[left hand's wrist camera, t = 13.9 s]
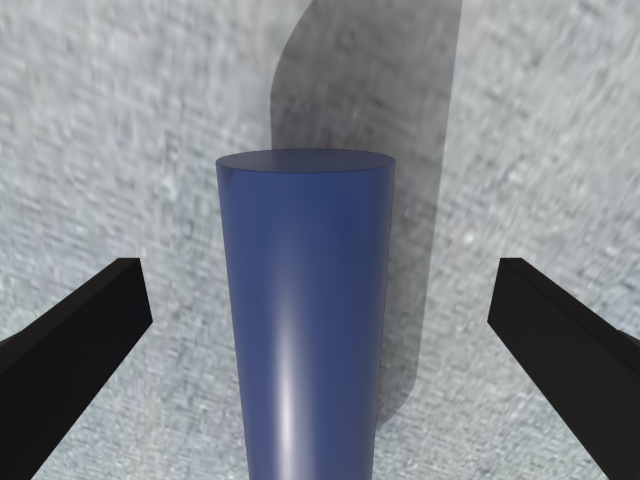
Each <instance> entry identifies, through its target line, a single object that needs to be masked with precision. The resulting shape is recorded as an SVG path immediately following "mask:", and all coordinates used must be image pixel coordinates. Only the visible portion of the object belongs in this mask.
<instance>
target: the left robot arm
mask: <svg viewBox="0 0 640 480" xmlns="http://www.w3.org/2000/svg"><path fill="white" fill-rule="evenodd" d="M152 322H153V320H152V315H151V310H150V305H149V301H148V296H147V291H146V286H145V281H144V277H143V272H142V267H141V262H140V258H118V259H116V260H115V261H114V262H112V263H111V264H110V265H108V266H107V267H106V268H104V269H103V270H102V271H100V272H99V273H98V274H96V275H95V276H94V277H92V278H91V279H90V280H88V281H87V282H86V283H84V284H83V285H82V286H80V287H79V288H78V289H76V290H75V291H74V292H72V293H71V294H70V295H68V296H67V297H66V298H64V299H63V300H62V301H60V302H59V303H58V304H56V305H55V306H54V307H52V308H51V309H50V310H48V311H47V312H46V313H44V314H43V315H42V316H40V317H39V318H38V319H36V320H35V321H34V322H33V323H31V324H30V325H29V326H27V327H26V328H25V329H23V330H22V331H20V332H18V333H16V334H14V335H12V336H11V337H9V338H7V339H5V340H3V341H1V342H0V480H31V479H32V477H33V476H34V475H35V474H36V472H37V471H38V470H39V468H40V467H41V466H42V464H43V463H44V462H45V461H46V459H47V458H48V457H49V455H50V454H51V453H52V452H53V450H54V449H55V448H56V446H57V445H58V444H59V443H60V441H61V440H62V439H63V437H64V436H65V435H66V433H67V432H68V431H69V430H70V428H71V427H72V426H73V424H74V423H75V422H76V421H77V419H78V418H79V417H80V415H81V414H82V413H83V412H84V410H85V409H86V408H87V406H88V405H89V404H90V403H91V401H92V400H93V399H94V397H95V396H96V395H97V393H98V392H99V391H100V390H101V388H102V387H103V386H104V384H105V383H106V382H107V381H108V379H109V378H110V377H111V375H112V374H113V373H114V372H115V370H116V369H117V368H118V366H119V365H120V364H121V362H122V361H123V360H124V359H125V357H126V356H127V355H128V353H129V352H130V351H131V350H132V348H133V347H134V346H135V344H136V343H137V342H138V341H139V339H140V338H141V337H142V335H143V334H144V333H145V332H146V330H147V329H148V328H149V326H150V325H151V324H152ZM487 322H488V324H489V325H490V326H491V328H492V329H493V330H494V332H495V333H496V334H497V335H498V337H499V338H500V339H501V341H502V342H503V343H504V344H505V346H506V347H507V348H508V350H509V351H510V352H511V353H512V355H513V356H514V357H515V359H516V360H517V361H518V362H519V364H520V365H521V366H522V368H523V369H524V370H525V372H526V373H527V374H528V375H529V377H530V378H531V379H532V381H533V382H534V383H535V384H536V386H537V387H538V388H539V390H540V391H541V392H542V393H543V395H544V396H545V397H546V399H547V400H548V401H549V403H550V404H551V405H552V406H553V408H554V409H555V410H556V412H557V413H558V414H559V415H560V417H561V418H562V419H563V421H564V422H565V423H566V424H567V426H568V427H569V428H570V430H571V431H572V432H573V433H574V435H575V436H576V437H577V439H578V440H579V441H580V443H581V444H582V445H583V446H584V448H585V449H586V450H587V452H588V453H589V454H590V455H591V457H592V458H593V459H594V461H595V462H596V463H597V464H598V466H599V467H600V468H601V470H602V471H603V472H604V474H605V475H606V476H607V477H608V479H609V480H640V340H638V339H636V338H634V337H632V336H630V335H628V334H626V333H624V332H622V331H620V330H617V329H615V328H614V327H613V326H611V325H610V324H609V323H607V322H606V321H605V320H604V319H602V318H601V317H600V316H598V315H597V314H596V313H594V312H593V311H592V310H590V309H589V308H588V307H586V306H585V305H584V304H582V303H581V302H580V301H578V300H577V299H576V298H574V297H573V296H572V295H570V294H569V293H568V292H566V291H565V290H564V289H562V288H561V287H560V286H558V285H557V284H556V283H554V282H553V281H552V280H550V279H549V278H548V277H546V276H545V275H544V274H542V273H541V272H540V271H538V270H537V269H536V268H534V267H533V266H532V265H530V264H529V263H528V262H526V261H525V260H524V259H522V258H500V262H499V267H498V272H497V277H496V281H495V286H494V291H493V296H492V301H491V305H490V310H489V315H488V320H487Z"/></svg>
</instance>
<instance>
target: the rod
mask: <svg viewBox="0 0 640 480" xmlns="http://www.w3.org/2000/svg"><path fill="white" fill-rule="evenodd" d="M216 171H217V181H218V190H219V199H220V209H221V218H222V228H223V237H224V246H225V256H226V265H227V274H228V284H229V293H230V302H231V312H232V321H233V330H234V340H235V349H236V358H237V368H238V377H239V386H240V396H241V405H242V415H243V424H244V433H245V443H246V452H247V461H248V471H249V480H372V469H373V456H374V442H375V429H376V415H377V402H378V388H379V375H380V362H381V348H382V335H383V321H384V308H385V294H386V281H387V267H388V254H389V240H390V227H391V214H392V200H393V187H394V173H395V159H394V158H392V157H390V156H387V155H383V154H379V153H373V152H365V151H354V150H338V149H281V150H264V151H253V152H245V153H238V154H232V155H228V156H224V157H221V158H219V159H218V160H216Z"/></svg>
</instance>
